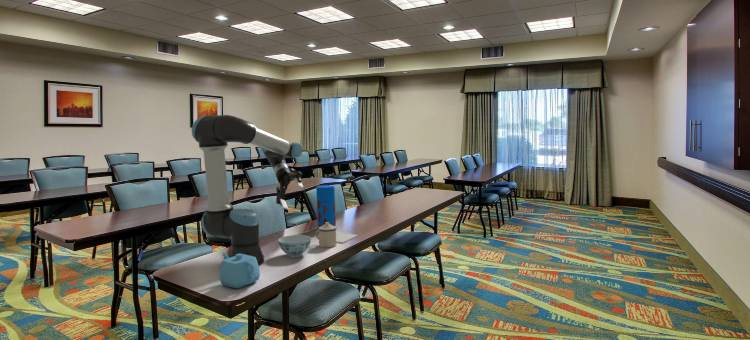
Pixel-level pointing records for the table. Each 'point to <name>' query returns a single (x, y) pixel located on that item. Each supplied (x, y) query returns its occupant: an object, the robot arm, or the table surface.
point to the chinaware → (294, 244)
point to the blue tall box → (325, 205)
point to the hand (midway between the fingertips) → (293, 197)
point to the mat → (344, 237)
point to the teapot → (239, 270)
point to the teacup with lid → (326, 235)
